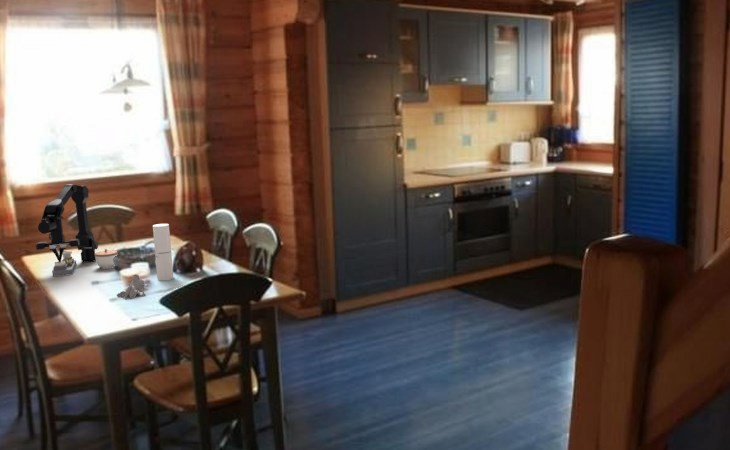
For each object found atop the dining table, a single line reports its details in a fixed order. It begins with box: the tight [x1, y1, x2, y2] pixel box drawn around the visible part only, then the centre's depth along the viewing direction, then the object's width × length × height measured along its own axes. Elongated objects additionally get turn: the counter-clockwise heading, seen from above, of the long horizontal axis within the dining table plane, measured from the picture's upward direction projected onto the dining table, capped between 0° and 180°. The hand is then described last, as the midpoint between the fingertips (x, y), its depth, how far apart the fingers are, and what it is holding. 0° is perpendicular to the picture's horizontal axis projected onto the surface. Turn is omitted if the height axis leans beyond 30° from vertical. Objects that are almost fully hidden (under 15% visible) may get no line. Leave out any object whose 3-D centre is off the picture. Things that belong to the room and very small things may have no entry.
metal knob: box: [66, 256, 73, 266], centre depth 347 cm, size 3×3×4 cm
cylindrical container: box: [152, 223, 174, 281], centre depth 323 cm, size 7×7×25 cm
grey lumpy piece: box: [116, 273, 149, 300], centre depth 301 cm, size 20×10×9 cm
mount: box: [51, 258, 77, 277], centre depth 348 cm, size 9×21×4 cm, turn 17°
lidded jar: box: [95, 248, 119, 270], centre depth 351 cm, size 11×11×9 cm
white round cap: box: [62, 249, 73, 261], centre depth 352 cm, size 5×5×6 cm
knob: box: [54, 260, 66, 267], centre depth 341 cm, size 5×5×6 cm
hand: (59, 261), depth 341 cm, fingers closed
